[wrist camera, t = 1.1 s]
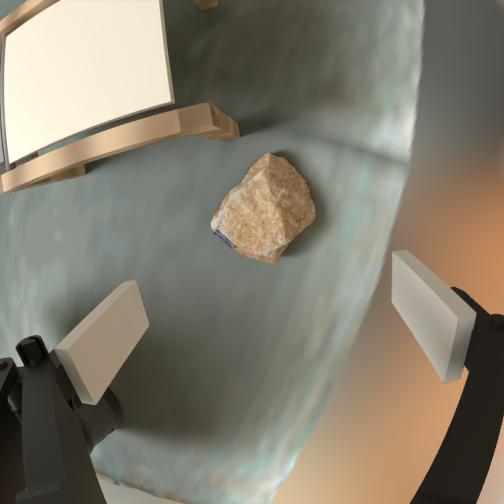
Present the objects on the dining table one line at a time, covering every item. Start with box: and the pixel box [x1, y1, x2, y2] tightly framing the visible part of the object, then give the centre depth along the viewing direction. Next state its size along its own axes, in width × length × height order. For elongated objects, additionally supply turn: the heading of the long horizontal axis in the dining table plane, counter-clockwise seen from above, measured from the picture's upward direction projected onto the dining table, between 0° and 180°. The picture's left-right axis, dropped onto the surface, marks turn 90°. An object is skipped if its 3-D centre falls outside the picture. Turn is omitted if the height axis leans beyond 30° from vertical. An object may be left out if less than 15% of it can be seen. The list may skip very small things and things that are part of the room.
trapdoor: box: [0, 0, 175, 175], centre depth 19 cm, size 24×14×5 cm, turn 99°
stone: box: [211, 153, 316, 264], centre depth 31 cm, size 8×10×4 cm
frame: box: [0, 0, 240, 195], centre depth 23 cm, size 21×18×14 cm
